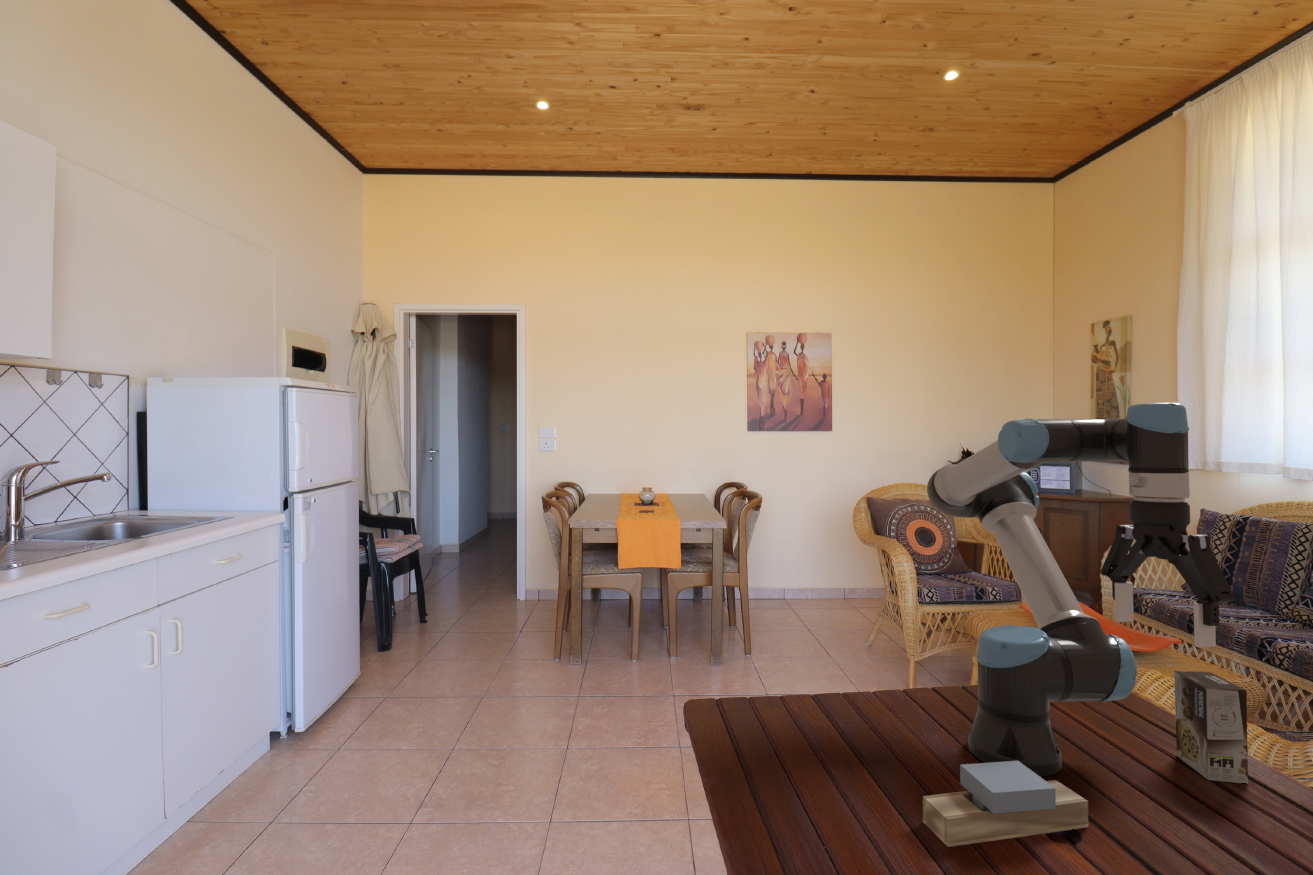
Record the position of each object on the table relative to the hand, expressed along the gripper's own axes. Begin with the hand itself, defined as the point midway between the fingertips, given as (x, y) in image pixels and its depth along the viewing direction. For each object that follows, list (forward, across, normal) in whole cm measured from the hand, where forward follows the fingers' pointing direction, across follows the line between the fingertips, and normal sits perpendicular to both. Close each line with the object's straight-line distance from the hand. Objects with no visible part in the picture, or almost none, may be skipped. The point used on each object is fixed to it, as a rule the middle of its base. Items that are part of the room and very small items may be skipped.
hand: (1162, 633), depth 98 cm
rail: (+28, -1, -27) cm, 39 cm away
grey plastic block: (+28, -1, -27) cm, 39 cm away
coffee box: (+29, -11, +20) cm, 37 cm away
